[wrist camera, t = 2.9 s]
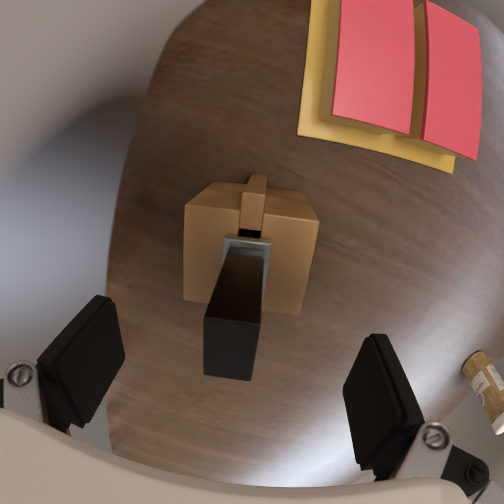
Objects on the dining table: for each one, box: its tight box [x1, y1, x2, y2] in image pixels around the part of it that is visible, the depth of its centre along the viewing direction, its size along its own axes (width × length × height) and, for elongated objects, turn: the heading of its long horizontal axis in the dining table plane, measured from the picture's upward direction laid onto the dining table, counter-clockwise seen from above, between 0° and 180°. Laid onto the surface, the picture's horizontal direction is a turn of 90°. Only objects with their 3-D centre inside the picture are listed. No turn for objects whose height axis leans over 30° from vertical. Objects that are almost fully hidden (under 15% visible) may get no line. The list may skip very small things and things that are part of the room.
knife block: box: [183, 173, 320, 315], centre depth 20 cm, size 7×8×8 cm
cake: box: [297, 0, 482, 174], centre depth 15 cm, size 15×15×5 cm
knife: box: [203, 229, 272, 381], centre depth 16 cm, size 2×4×16 cm, turn 173°
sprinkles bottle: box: [462, 351, 504, 435], centre depth 23 cm, size 5×5×13 cm
